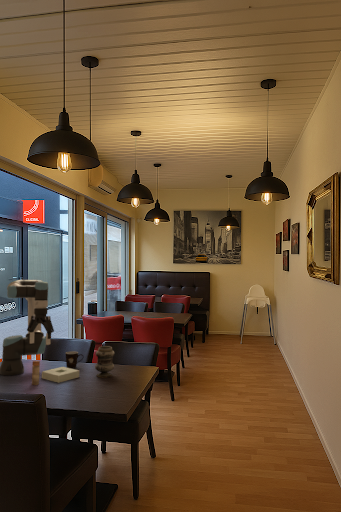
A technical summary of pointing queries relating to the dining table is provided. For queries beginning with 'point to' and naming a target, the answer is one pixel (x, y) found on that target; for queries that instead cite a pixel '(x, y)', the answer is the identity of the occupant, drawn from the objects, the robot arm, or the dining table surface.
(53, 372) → the socket block
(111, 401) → the dining table surface
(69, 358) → the coffee mug
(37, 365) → the peg
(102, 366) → the apothecary jar
